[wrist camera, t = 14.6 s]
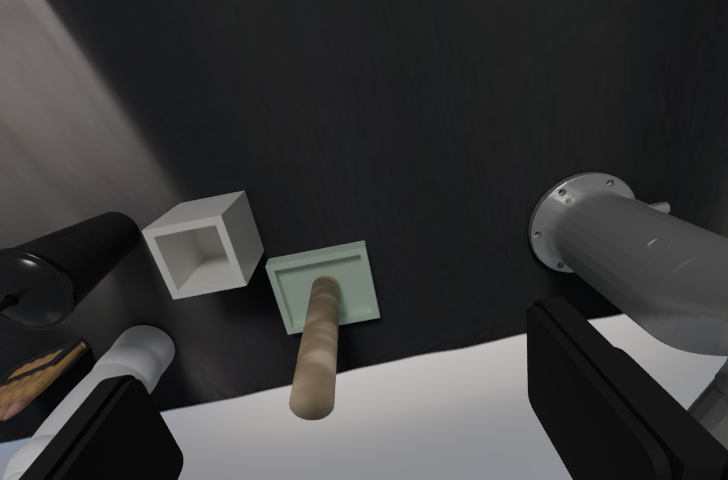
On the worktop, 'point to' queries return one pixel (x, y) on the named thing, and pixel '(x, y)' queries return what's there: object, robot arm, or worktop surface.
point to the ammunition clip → (36, 376)
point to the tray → (340, 262)
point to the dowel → (318, 353)
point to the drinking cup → (61, 269)
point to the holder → (206, 245)
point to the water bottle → (126, 357)
